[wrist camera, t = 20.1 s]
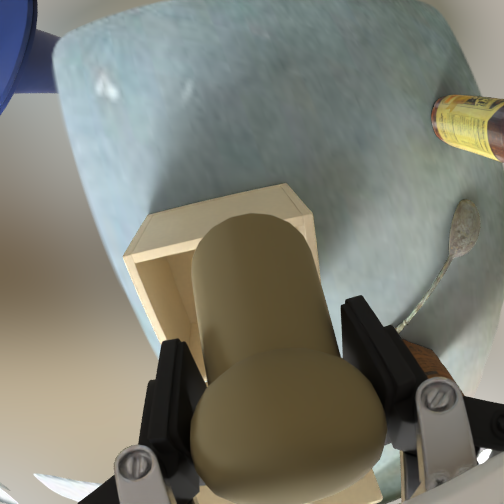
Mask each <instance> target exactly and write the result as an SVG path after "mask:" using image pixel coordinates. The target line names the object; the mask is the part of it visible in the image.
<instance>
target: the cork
mask: <svg viewBox="0 0 504 504" xmlns="http://www.w3.org/2000/svg"><path fill="white" fill-rule="evenodd" d="M191 279H192V287H193V294H194V301H195V308H196V315H197V322H198V329H199V335H200V341H201V348H202V354H203V360H204V366H205V371H206V377H207V383H208V387H207V388H206V390H205V391H204V393H203V395H202V396H201V398H200V400H199V402H198V403H197V406H196V408H195V411H194V414H193V417H192V419H191V430H190V449H191V457H192V460H193V464H194V467H195V470H196V472H197V474H198V475H199V476H200V478H201V479H202V480H203V482H204V483H205V484H206V485H207V487H208V488H209V489H210V490H211V491H212V492H213V493H214V494H215V495H217V496H219V497H221V498H223V499H226V500H228V501H230V502H233V503H235V504H305V503H310V502H314V501H317V500H320V499H323V498H326V497H329V496H332V495H334V494H336V493H338V492H340V491H342V490H344V489H347V488H349V487H350V486H352V485H353V484H355V483H356V482H358V481H359V480H360V479H362V478H363V477H364V476H365V475H366V474H367V473H368V472H369V471H370V470H371V469H372V468H373V466H374V465H375V464H376V463H377V462H378V461H379V460H380V457H381V454H382V451H383V448H384V444H385V439H386V434H387V430H388V429H387V422H386V416H385V411H384V408H383V406H382V404H381V401H380V399H379V397H378V395H377V393H376V391H375V389H374V387H373V385H372V383H371V382H370V381H369V380H368V379H367V378H366V377H365V376H364V375H363V374H362V373H361V372H360V371H359V370H358V369H357V368H356V367H354V366H353V365H351V364H350V363H348V362H347V361H346V360H344V359H343V358H341V356H340V352H339V349H338V345H337V341H336V337H335V333H334V329H333V326H332V322H331V318H330V315H329V311H328V307H327V304H326V300H325V297H324V293H323V290H322V286H321V283H320V279H319V276H318V272H317V269H316V265H315V262H314V259H313V255H312V252H311V249H310V247H309V246H308V244H307V242H306V240H305V238H304V236H303V234H301V233H300V232H299V231H298V230H297V229H296V228H295V227H294V226H293V225H292V224H291V223H289V222H287V221H285V220H282V219H280V218H278V217H275V216H273V215H268V214H257V213H248V214H244V215H239V216H234V217H230V218H228V219H227V220H225V221H223V222H221V223H220V224H218V225H216V226H214V227H213V228H211V230H210V231H209V232H208V233H207V234H206V235H205V236H204V237H203V238H202V239H201V241H200V242H199V243H198V246H197V248H196V251H195V253H194V255H193V258H192V268H191Z"/></svg>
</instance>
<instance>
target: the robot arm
mask: <svg viewBox="0 0 504 504" xmlns="http://www.w3.org/2000/svg"><path fill="white" fill-rule="evenodd" d="M341 324H342V347H343V359H344V360H346V361H347V362H348V363H350V364H351V365H353V366H354V367H356V368H357V369H358V370H359V371H360V372H361V373H362V374H363V375H364V376H365V377H366V378H367V379H368V380H369V381H370V382H371V383H372V385H373V387H374V389H375V391H376V393H377V395H378V397H379V399H380V401H381V404H382V406H383V408H384V411H385V416H386V422H387V429H388V430H387V434H386V439H385V444H384V445H387V444H390V443H392V445H393V448H395V449H398V450H400V464H401V498H402V503H399V504H504V404H499V403H494V402H489V401H485V400H480V399H475V398H471V397H466V396H462V393H461V390H460V388H459V386H458V385H457V384H456V383H455V382H454V381H452V380H450V379H449V378H445V377H433V378H430V379H428V377H427V376H426V374H425V373H424V371H423V370H422V368H421V366H420V365H419V363H418V362H417V360H416V359H415V357H414V356H413V354H412V353H411V351H410V350H409V348H408V347H407V346H406V344H405V343H404V341H403V340H402V338H401V337H400V335H399V334H398V332H397V331H396V330H395V328H394V327H393V326H391V325H388V326H385V327H383V325H382V324H381V322H380V321H379V319H378V318H377V316H376V315H375V313H374V312H373V311H372V309H371V308H370V306H369V305H368V303H367V302H366V300H365V299H364V297H363V296H362V295H359V296H356V297H352V298H349V299H346V300H345V304H343V305H341ZM206 388H207V386H206V383H205V381H204V379H203V377H202V375H201V373H200V371H199V369H198V367H197V365H196V362H195V360H194V358H193V356H192V354H191V352H190V349H189V347H188V345H187V343H186V342H185V341H183V342H181V341H180V339H179V338H176V339H171V340H165V341H163V342H162V345H161V350H160V356H159V362H158V368H157V374H156V379H155V380H150V381H149V383H148V386H147V392H146V398H145V404H144V410H143V416H142V423H141V429H140V436H139V443H138V445H132V446H129V447H127V448H125V449H124V450H123V451H121V452H120V453H119V454H118V456H117V457H116V459H115V462H114V474H115V475H113V476H112V477H111V478H110V479H108V480H107V481H106V482H105V483H103V484H102V485H101V486H99V487H98V488H97V489H96V490H94V491H93V492H92V493H90V494H89V495H88V496H86V497H85V498H84V499H83V500H81V501H80V502H78V504H199V503H198V500H197V498H196V495H197V494H198V493H199V492H200V486H205V485H206V484H205V483H204V482H203V480H202V479H201V478H200V476H199V475H198V474H197V472H196V470H195V467H194V464H193V460H192V457H191V449H190V430H191V419H192V417H193V414H194V411H195V408H196V406H197V403H198V402H199V400H200V398H201V396H202V395H203V393H204V391H205V390H206Z"/></svg>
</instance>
